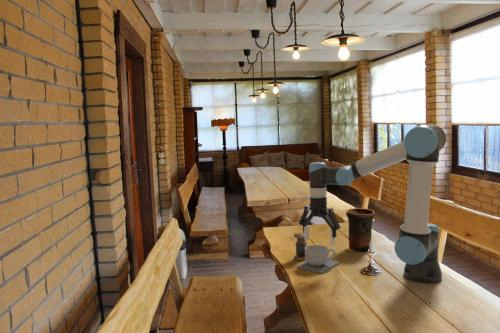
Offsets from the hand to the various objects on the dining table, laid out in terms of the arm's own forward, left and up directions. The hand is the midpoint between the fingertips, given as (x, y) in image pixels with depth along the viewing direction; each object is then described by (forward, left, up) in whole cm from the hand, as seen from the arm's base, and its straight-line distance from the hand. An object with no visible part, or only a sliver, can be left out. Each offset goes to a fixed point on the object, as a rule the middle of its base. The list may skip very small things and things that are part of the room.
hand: (319, 242), depth 195 cm
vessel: (-4, -35, -12) cm, 37 cm away
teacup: (0, 0, -11) cm, 11 cm away
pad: (0, 0, -11) cm, 11 cm away
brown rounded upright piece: (+12, -4, -11) cm, 17 cm away
